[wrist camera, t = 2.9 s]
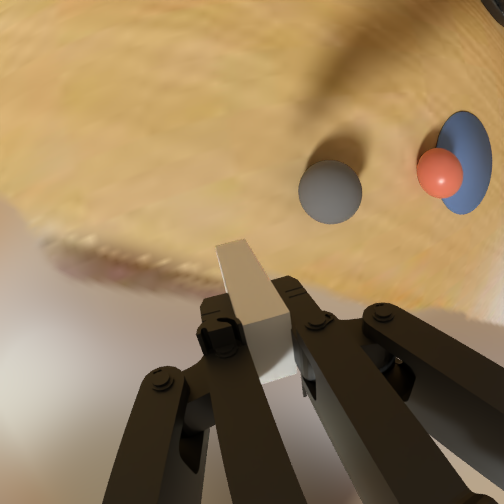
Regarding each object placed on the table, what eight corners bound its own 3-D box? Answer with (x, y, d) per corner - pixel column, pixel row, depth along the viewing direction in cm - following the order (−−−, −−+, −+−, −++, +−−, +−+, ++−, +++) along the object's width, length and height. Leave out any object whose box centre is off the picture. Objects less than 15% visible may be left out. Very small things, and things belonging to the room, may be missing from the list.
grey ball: (339, 153, 26) (372, 159, 21) (344, 208, 28) (375, 224, 23) (285, 162, 25) (309, 169, 20) (293, 220, 28) (317, 239, 23)
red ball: (437, 144, 28) (472, 150, 23) (438, 189, 30) (471, 200, 25) (405, 146, 27) (441, 152, 22) (407, 195, 29) (441, 208, 24)
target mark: (489, 114, 28) (490, 114, 27) (489, 206, 33) (490, 206, 33) (430, 109, 26) (431, 109, 26) (434, 222, 32) (435, 223, 31)
